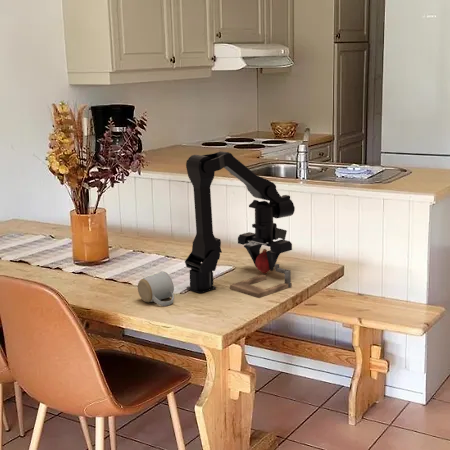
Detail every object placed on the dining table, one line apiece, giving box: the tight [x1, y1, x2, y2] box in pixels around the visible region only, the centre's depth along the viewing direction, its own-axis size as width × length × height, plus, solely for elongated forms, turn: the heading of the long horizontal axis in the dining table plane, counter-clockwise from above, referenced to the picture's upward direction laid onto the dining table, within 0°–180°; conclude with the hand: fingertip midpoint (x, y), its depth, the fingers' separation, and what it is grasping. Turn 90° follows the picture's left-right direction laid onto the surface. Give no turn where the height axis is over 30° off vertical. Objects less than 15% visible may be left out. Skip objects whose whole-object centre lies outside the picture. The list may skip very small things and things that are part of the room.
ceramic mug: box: [137, 270, 175, 307], centre depth 199 cm, size 11×8×8 cm
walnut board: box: [229, 263, 293, 299], centre depth 209 cm, size 14×12×6 cm
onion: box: [254, 248, 271, 275], centre depth 222 cm, size 6×6×8 cm
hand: (264, 268), depth 223 cm, fingers closed on onion, 6 cm apart
